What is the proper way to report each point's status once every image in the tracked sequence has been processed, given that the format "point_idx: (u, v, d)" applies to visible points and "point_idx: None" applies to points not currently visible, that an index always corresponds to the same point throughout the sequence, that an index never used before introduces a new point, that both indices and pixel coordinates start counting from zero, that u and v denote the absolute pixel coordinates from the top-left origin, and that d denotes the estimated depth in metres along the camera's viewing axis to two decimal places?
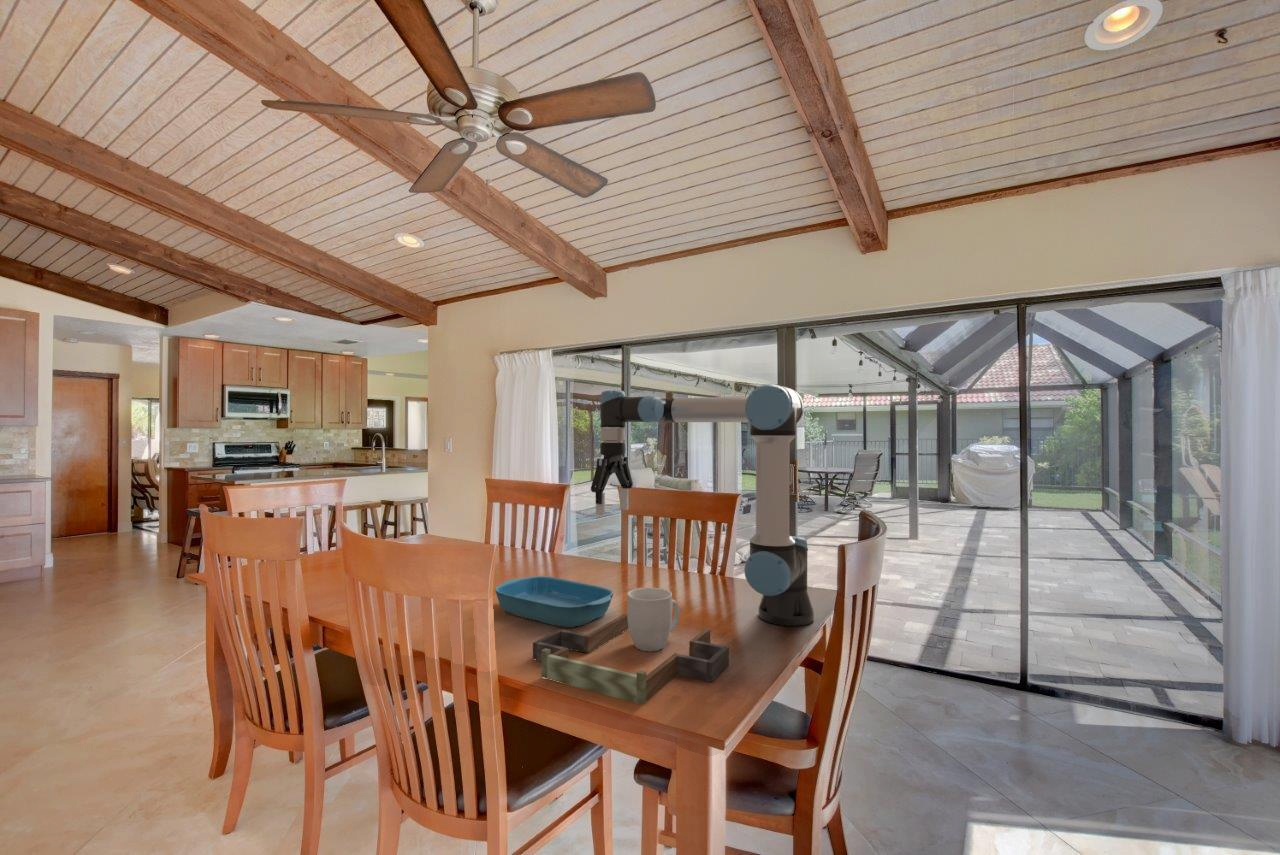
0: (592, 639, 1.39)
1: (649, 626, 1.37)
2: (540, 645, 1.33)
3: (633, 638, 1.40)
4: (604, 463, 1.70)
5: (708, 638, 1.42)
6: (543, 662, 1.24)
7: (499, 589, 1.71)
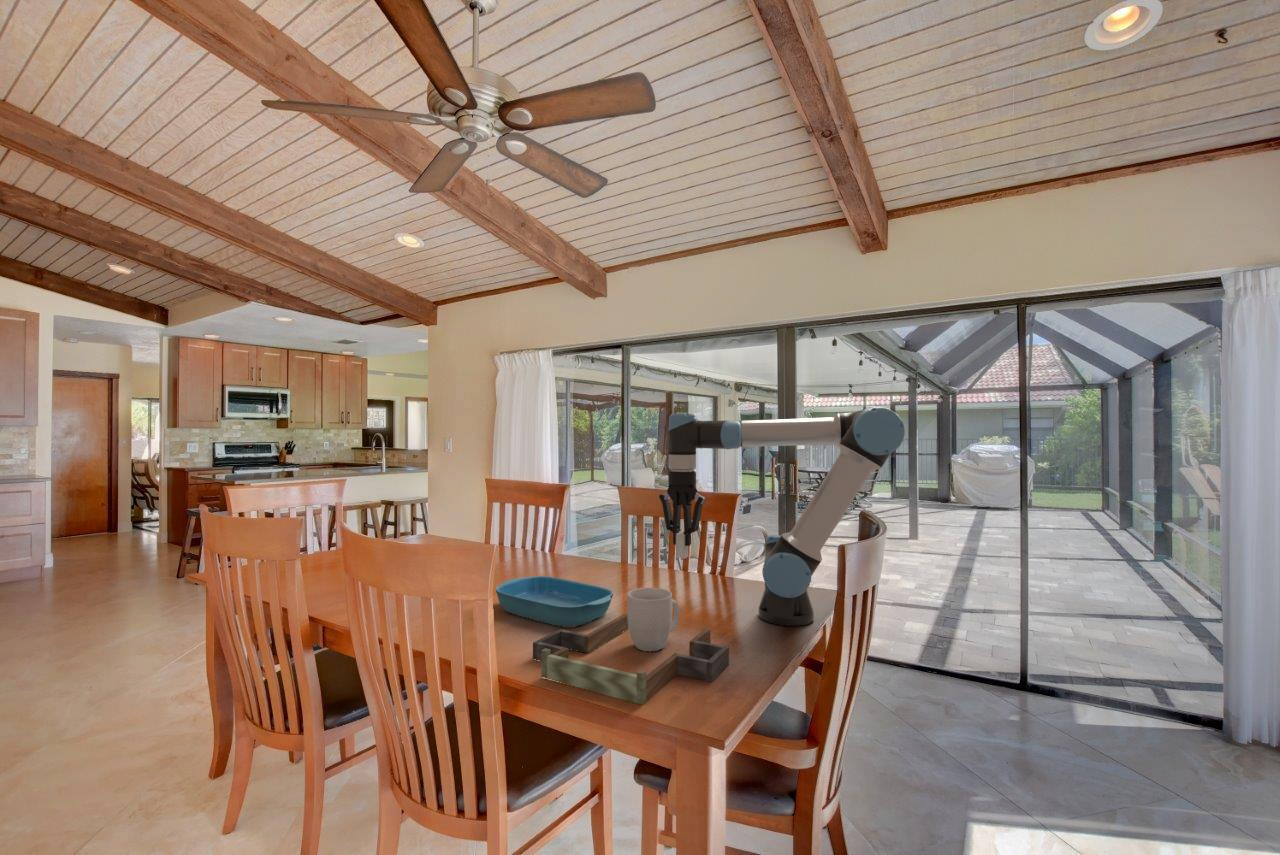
0: (592, 639, 1.39)
1: (649, 626, 1.37)
2: (540, 645, 1.33)
3: (633, 638, 1.40)
4: (662, 499, 1.59)
5: (708, 638, 1.42)
6: (543, 662, 1.24)
7: (499, 589, 1.71)
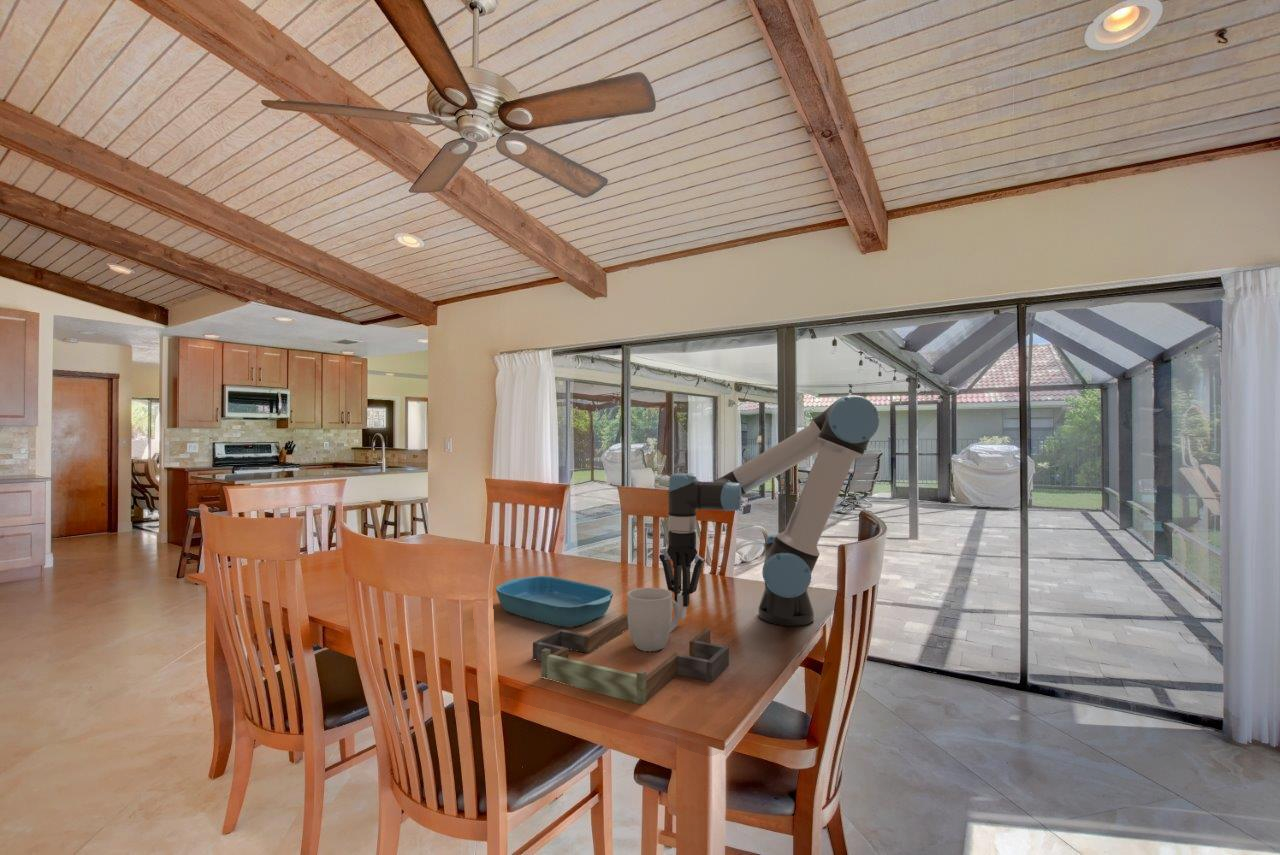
0: (592, 639, 1.39)
1: (649, 626, 1.37)
2: (540, 645, 1.33)
3: (633, 638, 1.40)
4: (662, 559, 1.59)
5: (708, 638, 1.42)
6: (543, 662, 1.24)
7: (500, 588, 1.71)
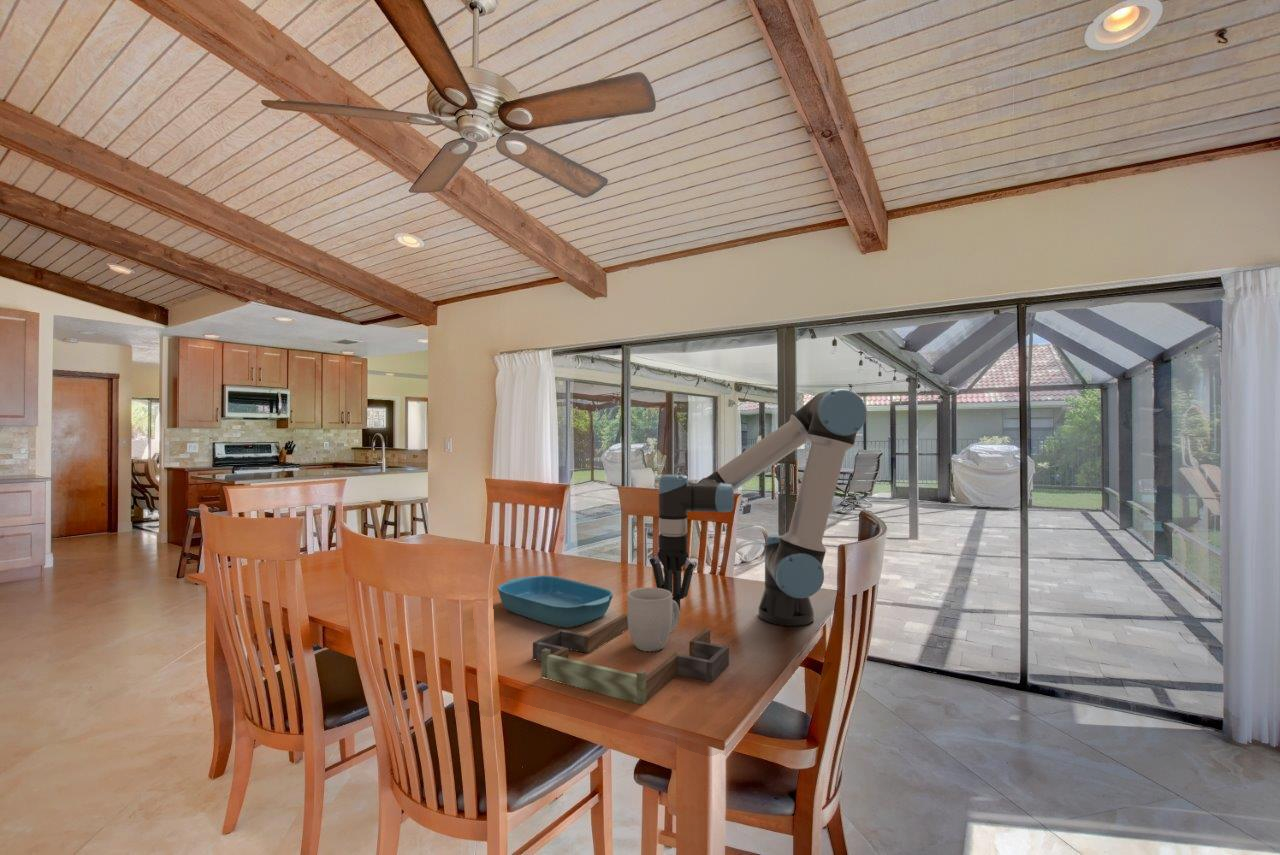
0: (592, 639, 1.39)
1: (649, 626, 1.37)
2: (540, 645, 1.33)
3: (633, 638, 1.40)
4: (652, 563, 1.55)
5: (708, 638, 1.42)
6: (543, 662, 1.24)
7: (502, 587, 1.73)
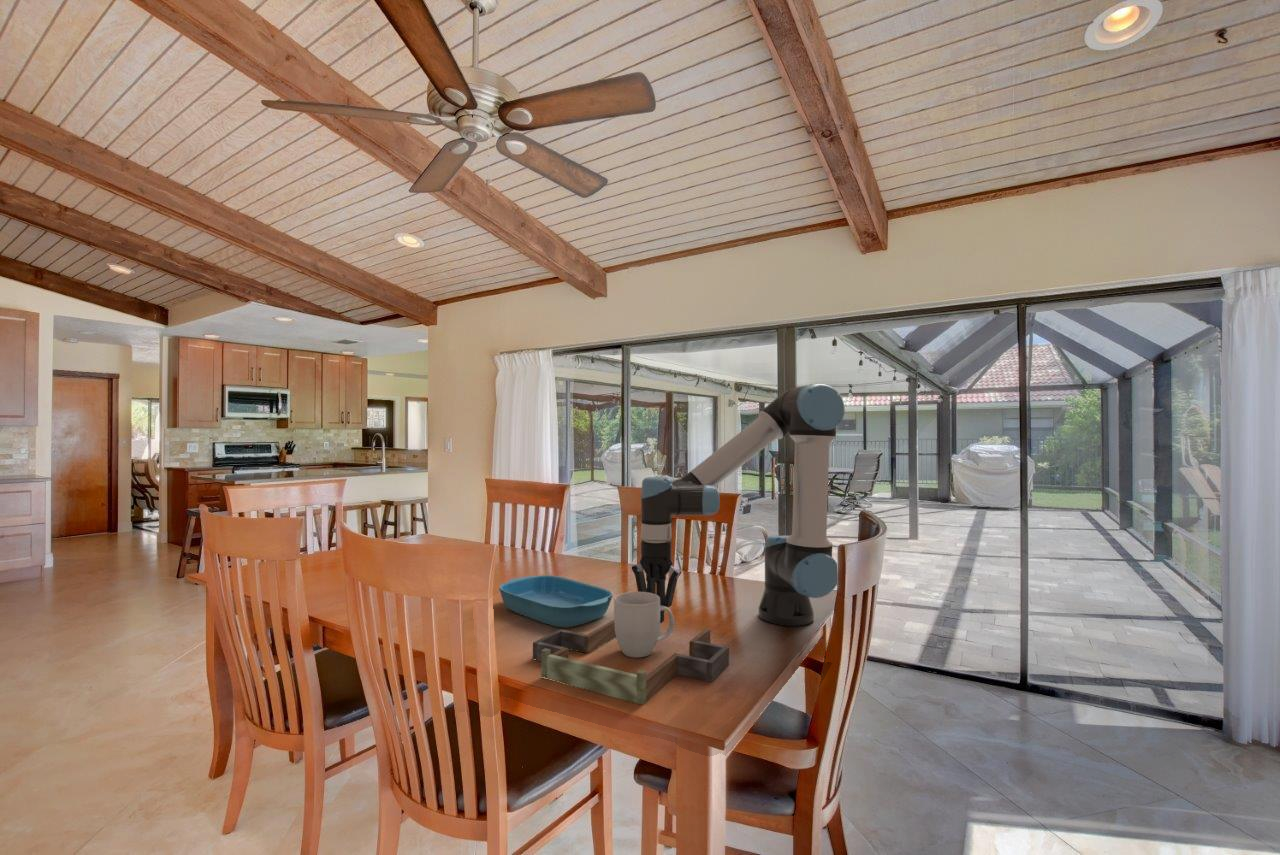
0: (592, 639, 1.39)
1: (628, 630, 1.33)
2: (540, 645, 1.33)
3: None
4: (634, 571, 1.46)
5: (708, 638, 1.42)
6: (543, 662, 1.24)
7: (504, 586, 1.74)
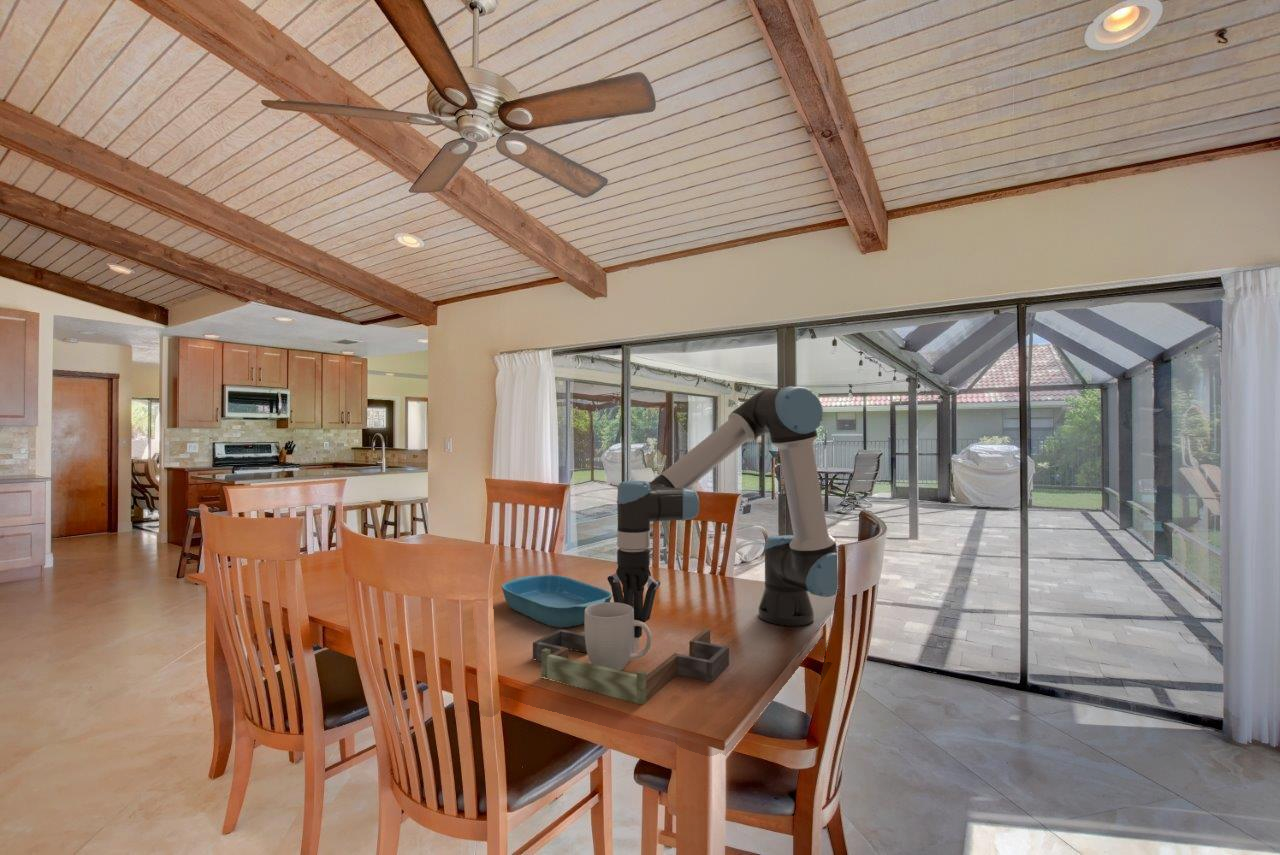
0: None
1: (591, 643, 1.26)
2: (540, 645, 1.33)
3: None
4: (610, 582, 1.36)
5: (708, 638, 1.42)
6: (543, 662, 1.24)
7: (507, 585, 1.75)
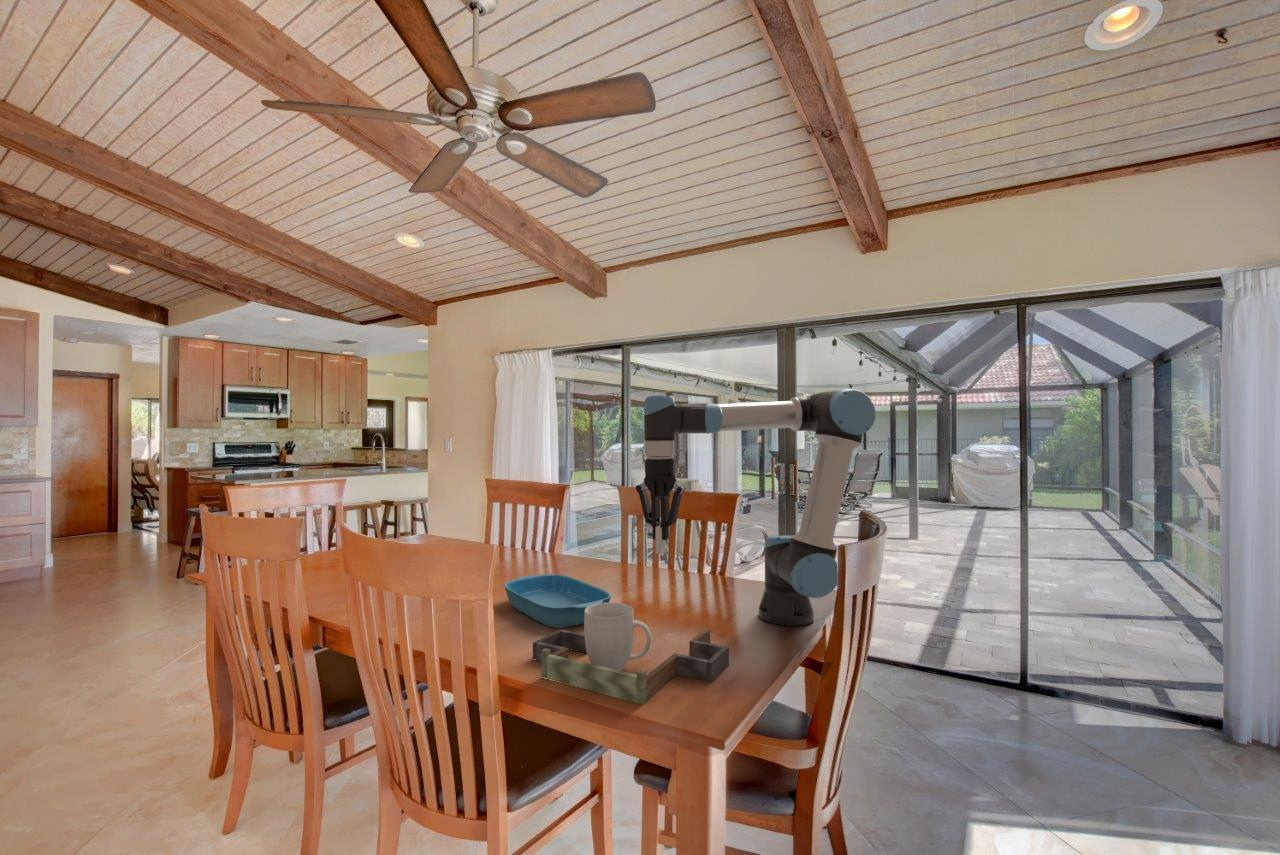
0: None
1: (591, 643, 1.26)
2: (540, 645, 1.33)
3: None
4: (638, 490, 1.46)
5: (708, 638, 1.42)
6: (543, 662, 1.24)
7: (510, 584, 1.77)
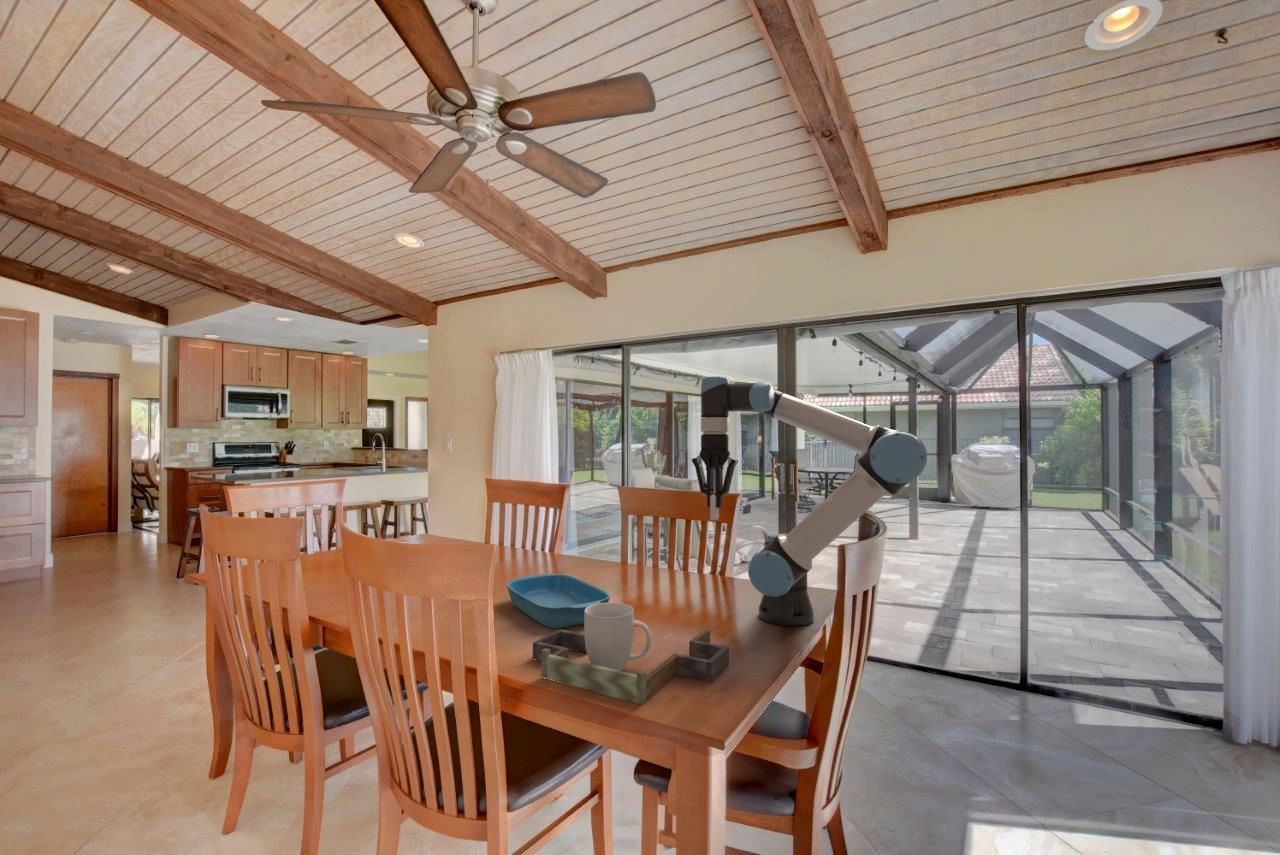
0: None
1: (591, 643, 1.26)
2: (540, 645, 1.33)
3: None
4: (694, 463, 1.61)
5: (708, 638, 1.42)
6: (543, 662, 1.24)
7: (513, 583, 1.78)
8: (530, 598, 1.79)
